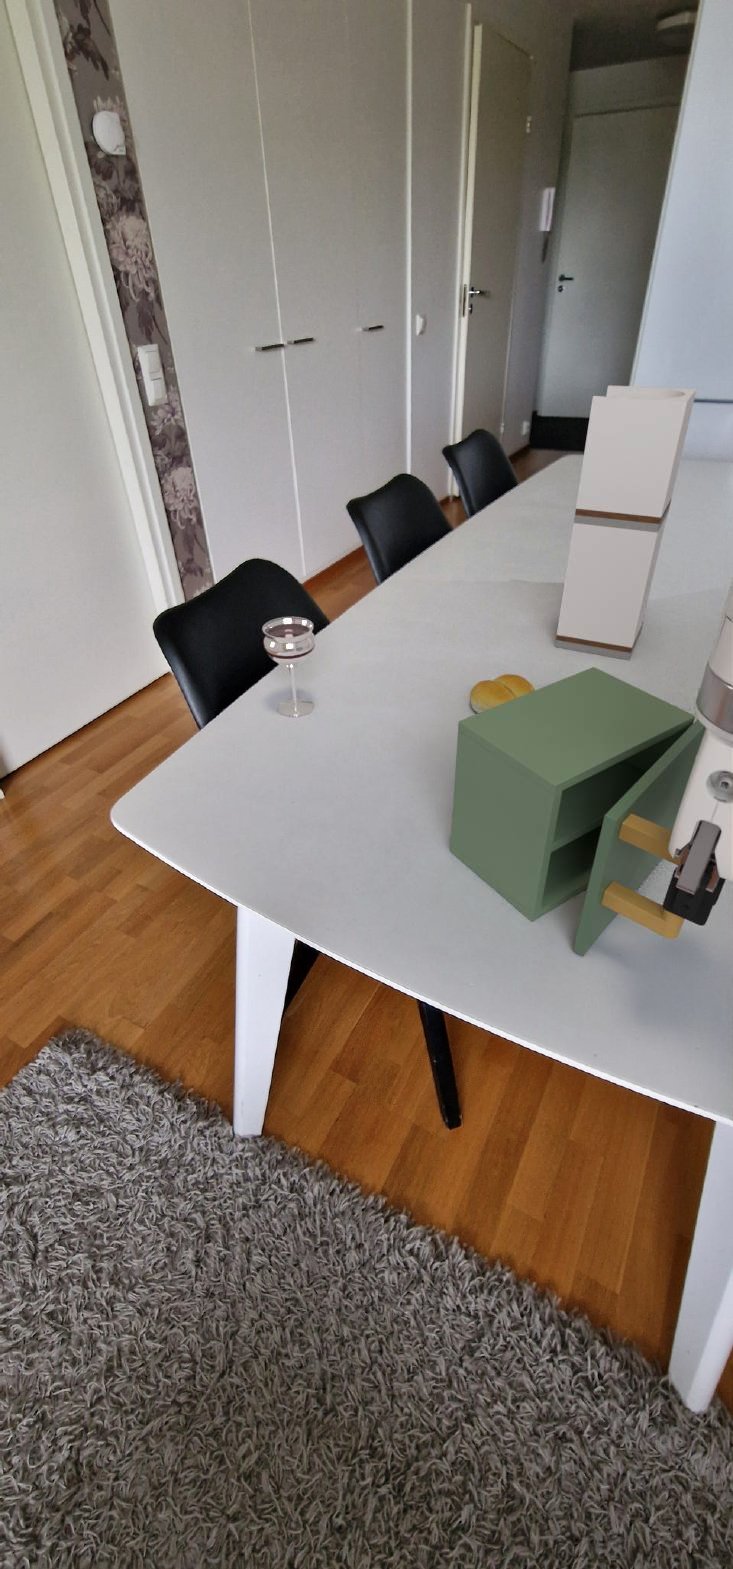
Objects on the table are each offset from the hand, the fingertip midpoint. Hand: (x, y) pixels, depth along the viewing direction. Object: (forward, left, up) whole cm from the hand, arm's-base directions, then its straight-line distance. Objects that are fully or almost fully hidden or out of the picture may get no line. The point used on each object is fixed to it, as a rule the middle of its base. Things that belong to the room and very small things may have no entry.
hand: (689, 904), depth 54 cm
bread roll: (+46, -9, -10) cm, 48 cm away
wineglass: (+56, +18, -10) cm, 59 cm away
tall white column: (+59, -33, -10) cm, 68 cm away
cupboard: (+18, 0, -9) cm, 20 cm away
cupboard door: (+7, -4, -9) cm, 12 cm away
